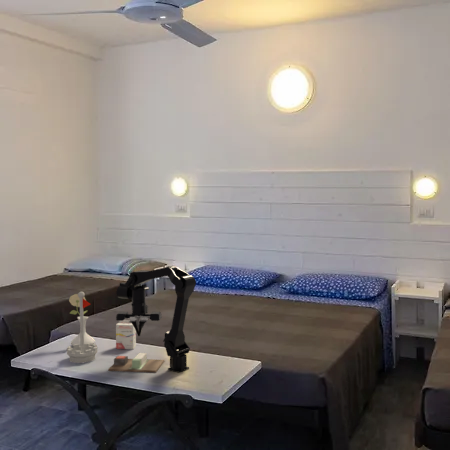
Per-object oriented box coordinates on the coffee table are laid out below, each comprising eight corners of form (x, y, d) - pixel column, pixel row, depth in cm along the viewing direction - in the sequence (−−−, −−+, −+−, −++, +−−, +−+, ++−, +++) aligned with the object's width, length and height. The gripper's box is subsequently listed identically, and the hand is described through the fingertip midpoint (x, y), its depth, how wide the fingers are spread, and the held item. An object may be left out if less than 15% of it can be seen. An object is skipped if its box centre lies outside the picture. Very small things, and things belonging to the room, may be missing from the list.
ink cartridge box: (115, 349, 264) (115, 318, 263) (118, 346, 269) (118, 315, 268) (133, 349, 263) (133, 318, 262) (136, 346, 268) (135, 316, 267)
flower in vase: (99, 343, 273) (99, 292, 272) (87, 350, 263) (86, 296, 261) (76, 341, 277) (75, 291, 276) (63, 347, 267) (61, 295, 265)
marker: (139, 360, 243) (139, 352, 243) (146, 360, 242) (146, 353, 242) (132, 368, 232) (132, 360, 232) (139, 368, 231) (139, 360, 231)
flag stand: (60, 361, 245) (59, 292, 244) (81, 353, 257) (79, 288, 255) (83, 365, 239) (82, 295, 238) (103, 357, 251) (102, 290, 249)
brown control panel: (164, 361, 244) (164, 353, 243) (156, 372, 229) (155, 364, 228) (119, 360, 246) (119, 352, 246) (108, 370, 231) (108, 362, 231)
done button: (125, 361, 239) (125, 356, 239) (123, 363, 236) (123, 358, 236) (118, 361, 240) (118, 355, 240) (116, 363, 237) (116, 358, 237)
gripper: (163, 296, 250) (164, 331, 250) (122, 296, 251) (123, 331, 252) (158, 301, 239) (159, 337, 239) (115, 301, 240) (116, 337, 241)
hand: (139, 335), depth 243 cm, fingers closed
